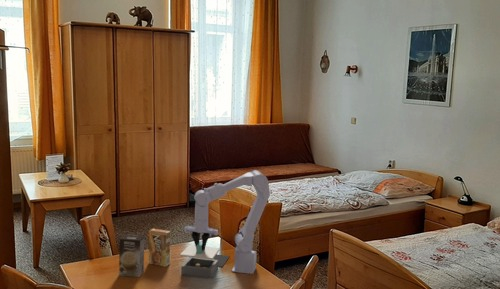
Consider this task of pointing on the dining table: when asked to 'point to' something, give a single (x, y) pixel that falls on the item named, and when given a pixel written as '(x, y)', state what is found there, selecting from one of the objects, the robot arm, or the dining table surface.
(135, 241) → the coffee box
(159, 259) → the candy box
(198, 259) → the tub
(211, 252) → the lid
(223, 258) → the mat
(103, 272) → the dining table surface
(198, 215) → the robot arm
